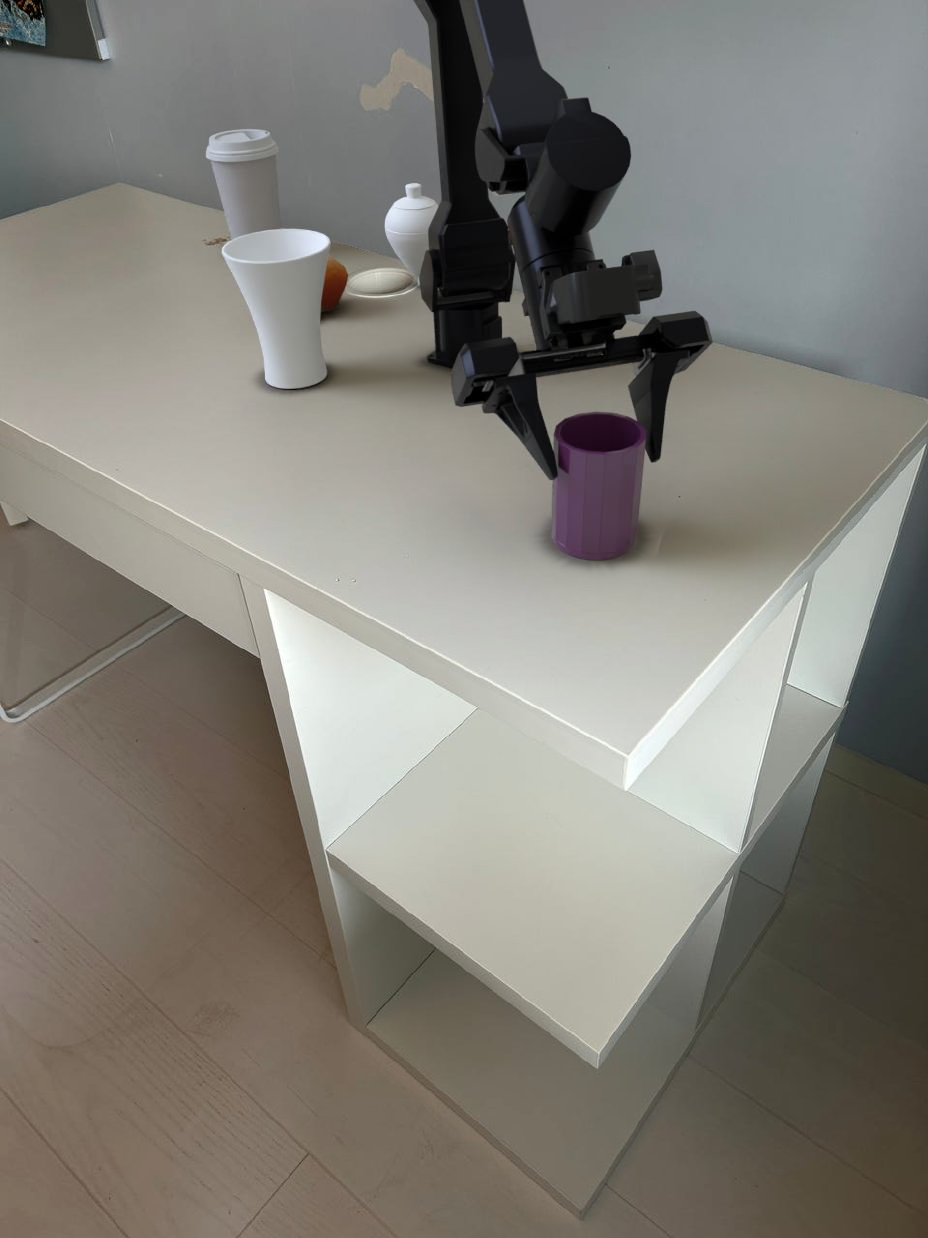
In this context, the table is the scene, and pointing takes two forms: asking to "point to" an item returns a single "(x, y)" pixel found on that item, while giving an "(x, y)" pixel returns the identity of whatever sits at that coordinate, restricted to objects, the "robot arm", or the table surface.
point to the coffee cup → (246, 179)
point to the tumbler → (597, 484)
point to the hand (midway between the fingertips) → (605, 469)
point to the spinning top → (410, 227)
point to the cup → (284, 299)
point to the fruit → (333, 284)
